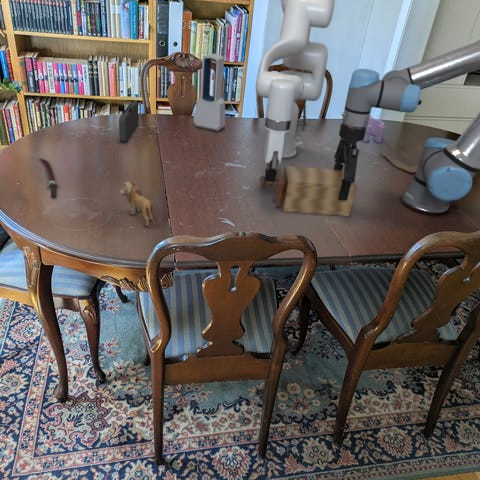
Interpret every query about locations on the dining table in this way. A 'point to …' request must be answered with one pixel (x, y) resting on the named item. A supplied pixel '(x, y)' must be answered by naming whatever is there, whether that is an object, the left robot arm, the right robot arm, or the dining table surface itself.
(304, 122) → the miniature windmill
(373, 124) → the clip
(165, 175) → the dining table surface
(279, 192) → the drawer
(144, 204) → the lion figurine
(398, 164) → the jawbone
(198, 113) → the electronic device
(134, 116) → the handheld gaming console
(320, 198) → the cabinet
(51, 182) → the sword
